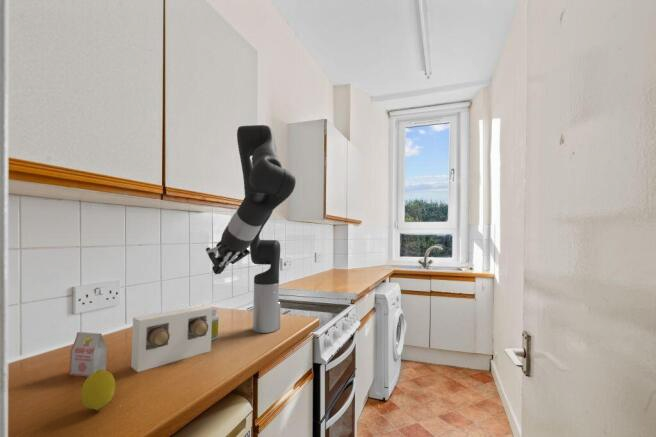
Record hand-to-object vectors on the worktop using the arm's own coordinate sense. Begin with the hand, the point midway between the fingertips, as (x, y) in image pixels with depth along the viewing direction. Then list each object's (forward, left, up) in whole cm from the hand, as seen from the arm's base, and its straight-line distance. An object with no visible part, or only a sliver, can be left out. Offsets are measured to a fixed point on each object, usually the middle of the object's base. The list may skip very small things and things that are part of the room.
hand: (216, 271), depth 89 cm
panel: (+6, -11, -25) cm, 28 cm away
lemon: (+28, +5, -25) cm, 38 cm away
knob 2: (+1, -9, -19) cm, 21 cm away
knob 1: (+12, -9, -19) cm, 24 cm away
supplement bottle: (-9, -19, -25) cm, 33 cm away
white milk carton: (+25, -17, -25) cm, 39 cm away
